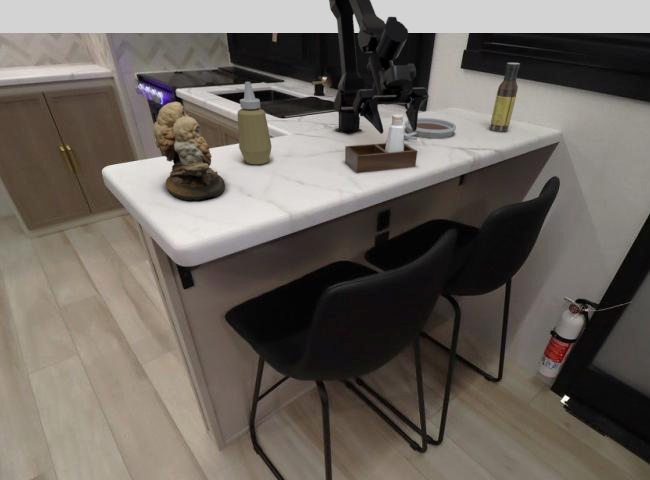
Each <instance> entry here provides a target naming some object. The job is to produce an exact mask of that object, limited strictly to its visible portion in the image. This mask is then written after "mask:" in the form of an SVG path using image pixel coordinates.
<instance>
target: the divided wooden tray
mask: <svg viewBox="0 0 650 480" xmlns="http://www.w3.org/2000/svg"><path fill="white" fill-rule="evenodd" d="M385 147H386V142H382V143H370V144H357V145H346V146H345V148H344V162H345V163H346V164H347V165H348V167H350V168H351V169H352V170H353V171H354V172H355V173H357V174H361V173H368V172H377V171H388V170H397V169H406V168H415V167H416V165H417V158H418V150H416V149H415V148H413V147H412V146H410V145H408V144H407V143H405V142H404V151H400V152H389V153H388V152H387V151H385Z"/></svg>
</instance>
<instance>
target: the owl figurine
mask: <svg viewBox="0 0 650 480" xmlns="http://www.w3.org/2000/svg"><path fill="white" fill-rule="evenodd" d="M156 118H157V119H156V121H155V122H154V123H153V130H152V132H153V133H152V134H153V135H154V139H155V145H156V147H157V149H158V148H159V151H160V152H161V154H162V155H163V156H164V157H165V158H166V161H167V162H173V164H172V166H171V171H170V172H169V176H167V178H166V180H165V186H166V190H167V191H168V193H169V194H170V195H171V196H173V197H175V198H176V199H177V198H178V199H180V200H185V201H192V200H194V201H199V200H202V199H207V198H214V197H218V196H220V195H222V194H224V191H225V189H226V184H225V180H224V179H223V177H222V176H221V175H220V174H219V173H218V171H215V170H214V169H212V168H211V167H210V166H211V164H212V154H211V150H210V146H209V144H208V143H207V141H206V140H205V137H203V136H202V131H201V126H200V124H199V122H198V121H197V120H196V119H195V118H194V117H191V116H189V114H187V113H186V108H185V107H184V105H183V104H182V102H179V101H172V102H168V103H166V104H165V105H163V106H162V107H161V108H160V109H159V111H158V115H157V117H156ZM195 177H197V178H195Z"/></svg>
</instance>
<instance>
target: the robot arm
mask: <svg viewBox="0 0 650 480" xmlns="http://www.w3.org/2000/svg"><path fill="white" fill-rule="evenodd" d="M328 3H329V9H330V11H331V13H332V14H333V16H334V18H335V19H336V25H337V36H338V37H337V38H338V46H339V56H340V57H339V58H340V68H341V77H340V79H339V83H338V85H337V93H336V95H335V98H334V100H333V110H334V111H336V112H337V113H338V127H337V128H335V129H334V130H335V131H336V132H339V133H342V134H346V135H352V134H357V133H360V132H362V131H363V129H361V128H360V125H361V124H360V123H361V122H360V121H361V117H363V118H365V119H366V120H367V121H368V122H369V123H370V124H371V125H372V126H373V127H374V128H375V129H376V130H377V131H378V133H379V134H380V135H383V133H384V126H383V122H382V119H381V115H380V112H379V105H385V106H388V105H389V106H390V105H403V106H404V109H405V110H406V111H405V115H406V117H407V120H409V123H410V125H411V128H412V130H413V131H416V129H417V119H418V118H419V116H418V115H419V110H420V109H422V107H423V106H424V104H425V102H426V101H427V100H428V98H429V97H430V96H429V93H428V89H427V88H426V87H411V89H410V90H409V92H408V93H407V94H402V92H403V91H404V90H405V89H406V86H405V85H406V84H407V83H410V82H411V81H414V79H416V77H417V70H416V69H417V68H416V66H415V64H414V63H407V64H406V65H404V64H403V65H394V62H393V61H394V60H396V59H398V57H399V55H400V53H401V51H402V50H403V48H404V46H405V43H406V42H407V40H408V38H409V29H408V28H407V27H406V26H405V25H404V23H402V22H401V21H398V19H397V16H388V17H387V18H386V22H385V21H384V20H383V19H381V17H379V16H378V15H377V13H376V11H375V9H374V6H373V4H372V2H371V0H328ZM354 17H355V20H356V22H357V25H358V28H359V31H358V33H357V40H358V41H357V42H358V46H359V48H360V50H361V52H362V53H364V54H369V53H370V55H369V57H368V62H367V65H366V70H367V71H370V72H371V76H372V81H373V83H372V88H371V89H369V88H368V89H367V88H366V87H365V85H366V83H365V79H364V77H361V76H360V74H359V72H358V62H357V49H356V37H355V23H354Z"/></svg>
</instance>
